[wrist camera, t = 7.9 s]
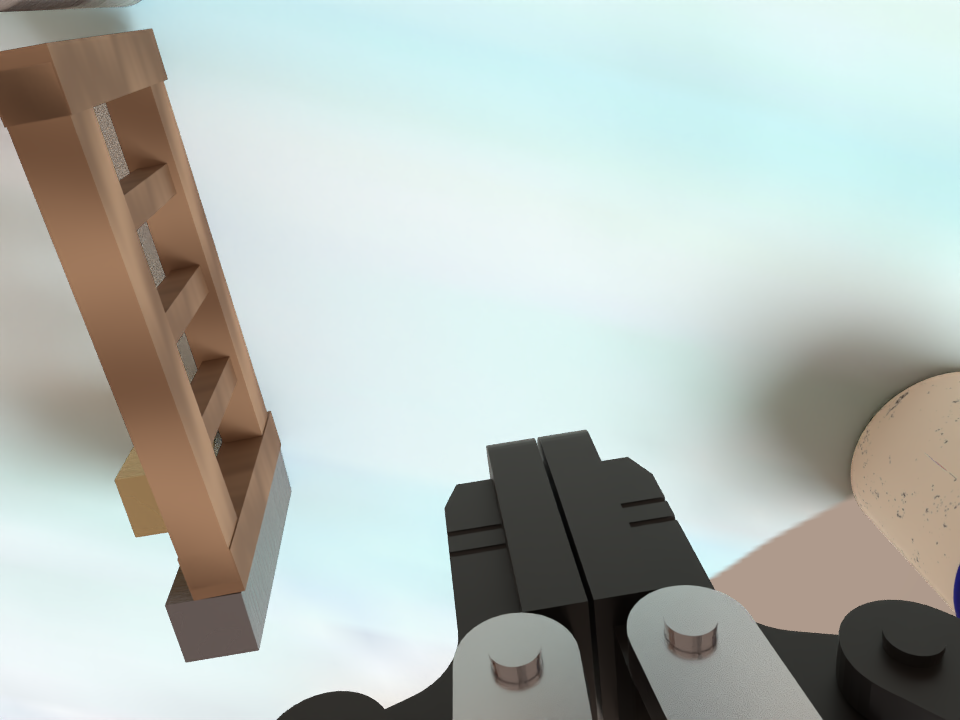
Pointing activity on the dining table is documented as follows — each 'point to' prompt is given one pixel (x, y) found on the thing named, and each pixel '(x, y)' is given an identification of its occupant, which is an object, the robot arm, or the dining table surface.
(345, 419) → the dining table surface
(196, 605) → the post
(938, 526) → the teacup with lid
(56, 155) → the walnut gate
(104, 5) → the hinge post
